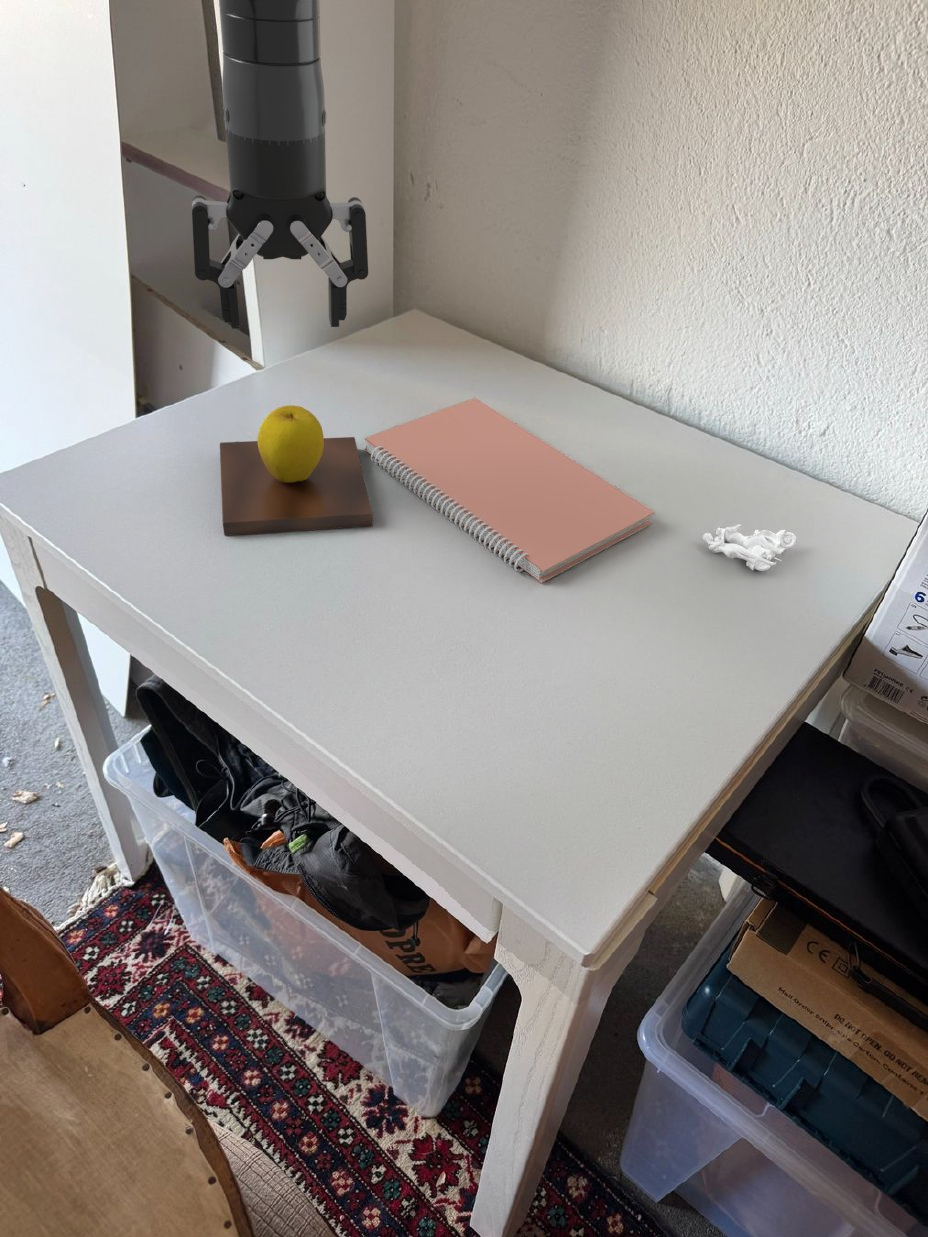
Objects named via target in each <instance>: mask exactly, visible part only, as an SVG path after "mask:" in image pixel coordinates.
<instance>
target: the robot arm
mask: <svg viewBox="0 0 928 1237" xmlns="http://www.w3.org/2000/svg"><path fill="white" fill-rule="evenodd" d="M320 5H321V4H320V0H218V6H219V18H220V32H221V45H222V46H221V47H222V80H221V87H222V101H223V102H222V103H223V107H222V116H223V120H224V126H225V128H224V129H225V140H226V152H227V166H228V176H229V189H230V190H229V191H230V192H229V196H228V198H227V200H226V201H218V200H208V199H207V198H206V197H205V196H203V195H201V194H197V195H195V196H193V198H192V201H191V219H192V221H191V222H192V241H193V242H192V243H193V262H194V263H193V264H194V276H195V277H196V278H197V279H198V280H199V281H210V282H213V283H215V284H216V285H217V287H218V289H219V295H220V296H219V297H220V307H221V315H222V316H221V317H222V319H223V321H224V322H225V323H231V329H232V330H236V329H237V330H240V329H241V326H240V325H241V324H240V313H239V312H240V311H239V299H238V289H237V279H238V277H239V276H240V275H241V273H242V272H243V271H244V270H245V269H246V268H247V267H248V266H249V265H250V263H251V262H252V261H253V259H254V257H255V256H256V255H257V256H259V257H262V259H263V260H275V259H279V258H280V259H281V258H286V259H289V260H302V258H304V257H305V256H307V255H309V256H310V257H311V259H312V260H313V261H314V262H315V263H316V265H317V266H318V267H319V268H320V269H321V270H323V272H324V273H325V274H326V276H327V277H328V278H327V282H328V284H327V285H328V286H327V288H328V321H329V324H330V325H329V326H330V328H339V327H340V321H345V320H346V318H347V315H348V312H347V311H348V310H347V308H348V307H347V306H348V304H347V303H348V302H347V300H348V293H347V291H348V285H349V284H350V283H351V282H352V281H355V280H365V279H366V278H367V277H368V276H369V257H368V235H367V234H368V233H367V214H366V211H365V208H364V206H363V202H362V201H361V199H360V198H359V197H357V196H356V197H355V196H353V197H350V198H349V200H347V202H330V200H329V198H328V197H327V168H326V167H327V162H326V161H327V160H326V158H327V157H326V124H327V111H326V106H325V105H326V103H325V102H326V101H325V98H326V97H325V85H324V78H323V71H322V60H321V12H320V11H321V10H320V7H321V6H320ZM224 218H226V219H227V220H228V222H229V223H230V225H231V226H232V227H233V229H234V230H235V231H236V232H237V233H238V234H237V236H235V238H234V240H233V241H232V243H231V245H230V247H229V249H228V251H227V252H226V254H225V255H224V257H223V258H222V260H221V261H220V262H219V261H217V260H214V259H210V256H211V255H210V235H209V234H210V232H214V231H216V230H217V229H219V225H220V221H221V220H222V219H224ZM333 220H336V221H338V222H339V225H340V227H341V229H342V231H344V232H345V233H348V237H349V240H348V241H349V253H350V254H349V255H350V258H349V259H347V260H345V261H342V262H341V261H340V259H339V258H338V256H336V254H335V253H334V251H332V249H331V247H330V246H329V244H328V242H327V241H326V240H325V238H324V237H323V235H324V233H325V232H326V230H327V229H328V228H329V226H330V225H331V223H332V222H333Z"/></svg>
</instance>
